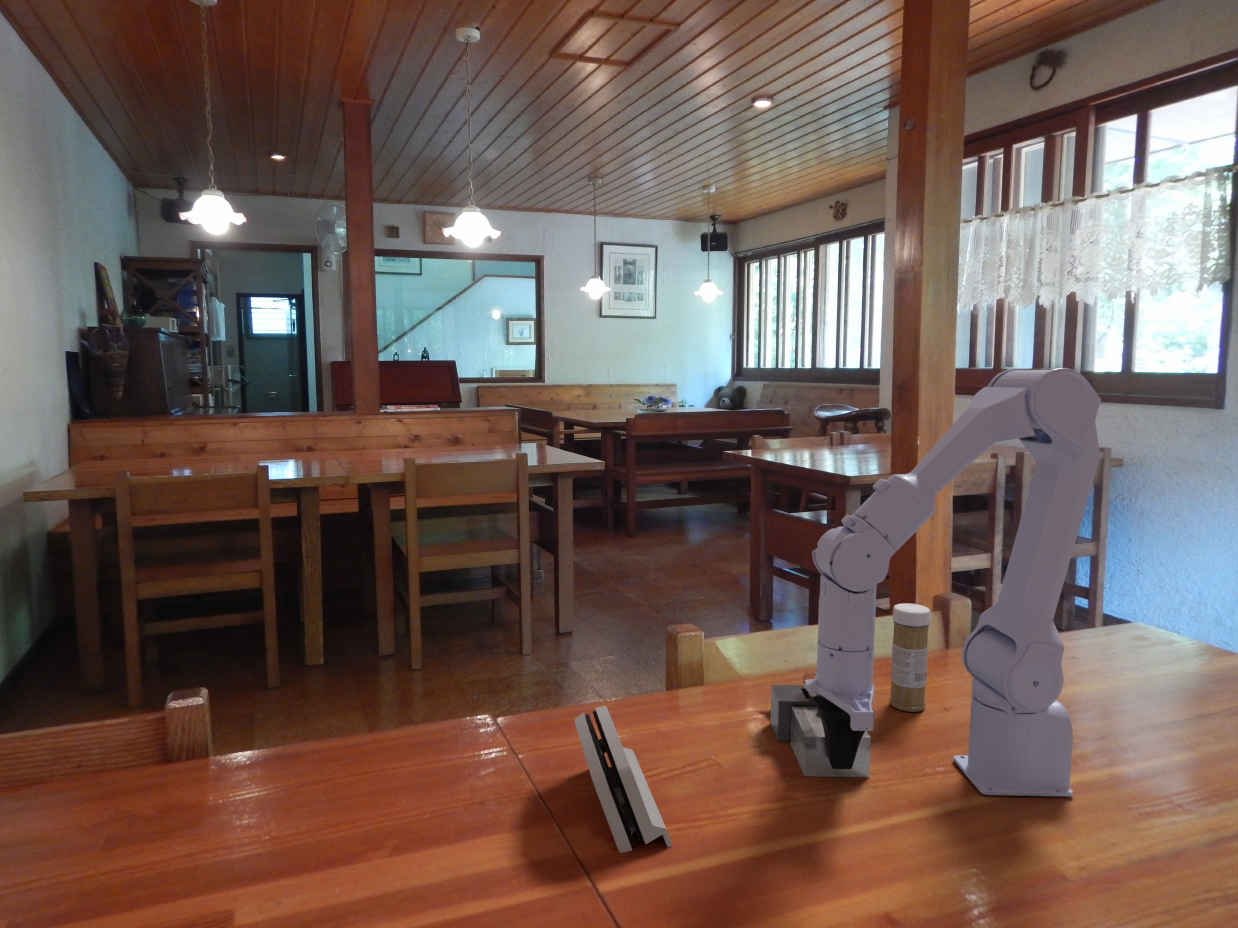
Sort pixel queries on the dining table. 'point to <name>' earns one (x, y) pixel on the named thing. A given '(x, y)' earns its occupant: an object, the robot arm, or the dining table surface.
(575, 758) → the dining table surface
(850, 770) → the block
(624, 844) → the grey slotted block
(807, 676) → the pin
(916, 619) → the sprinkles bottle
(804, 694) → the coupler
